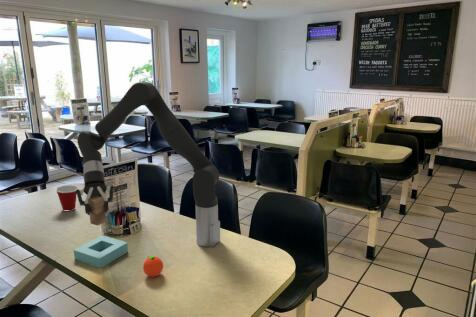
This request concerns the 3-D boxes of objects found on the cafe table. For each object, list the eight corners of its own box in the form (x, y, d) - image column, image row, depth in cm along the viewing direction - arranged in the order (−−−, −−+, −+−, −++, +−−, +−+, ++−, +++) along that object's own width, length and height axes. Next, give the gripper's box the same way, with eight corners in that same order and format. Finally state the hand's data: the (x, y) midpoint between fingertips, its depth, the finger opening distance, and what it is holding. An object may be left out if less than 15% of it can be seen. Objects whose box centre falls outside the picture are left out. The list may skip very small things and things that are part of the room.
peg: (106, 221, 137) (103, 197, 135) (97, 225, 134) (95, 200, 131) (98, 219, 139) (96, 195, 137) (90, 223, 136) (87, 199, 133)
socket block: (127, 251, 143) (127, 242, 142) (100, 268, 131) (99, 258, 130) (103, 243, 149) (102, 235, 148) (74, 259, 137) (73, 249, 136)
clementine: (139, 272, 128) (138, 255, 126) (157, 266, 132) (156, 249, 130) (148, 283, 122) (147, 264, 120) (166, 276, 126) (165, 258, 124)
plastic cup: (75, 213, 181) (72, 191, 178) (54, 213, 181) (51, 191, 178) (84, 205, 191) (81, 184, 188) (64, 205, 191) (61, 184, 188)
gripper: (73, 171, 136) (75, 211, 128) (112, 167, 141) (117, 206, 133) (75, 180, 142) (77, 219, 134) (113, 176, 147) (117, 214, 139)
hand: (97, 212), depth 134 cm, fingers closed on peg, 5 cm apart
